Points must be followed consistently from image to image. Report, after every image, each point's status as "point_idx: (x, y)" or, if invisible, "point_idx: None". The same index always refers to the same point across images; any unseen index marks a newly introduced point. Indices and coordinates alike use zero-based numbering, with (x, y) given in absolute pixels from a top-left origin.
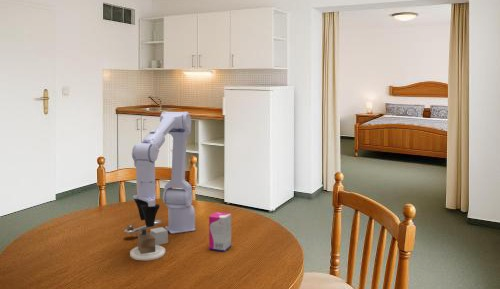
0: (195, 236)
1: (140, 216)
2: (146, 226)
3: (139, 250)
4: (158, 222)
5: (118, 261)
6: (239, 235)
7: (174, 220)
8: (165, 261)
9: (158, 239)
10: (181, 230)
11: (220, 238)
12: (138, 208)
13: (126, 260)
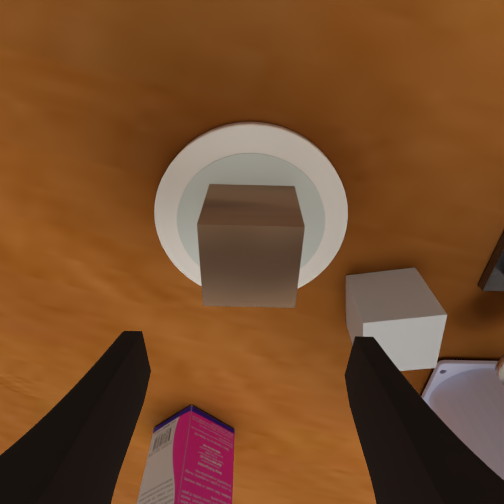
0: (349, 408)
1: (369, 364)
2: (138, 332)
3: (255, 187)
4: (501, 374)
5: (205, 25)
6: (277, 482)
7: (476, 426)
8: (123, 262)
9: (352, 306)
10: (430, 396)
11: (152, 471)
12: (418, 449)
13: (203, 83)
